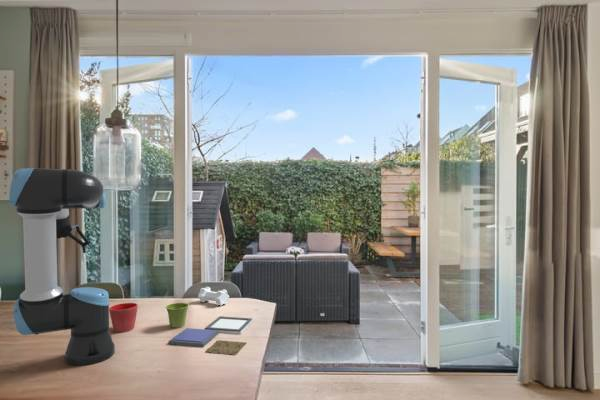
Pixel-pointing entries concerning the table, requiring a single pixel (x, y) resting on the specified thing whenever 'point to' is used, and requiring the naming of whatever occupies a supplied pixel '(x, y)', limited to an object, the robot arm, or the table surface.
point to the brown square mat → (225, 347)
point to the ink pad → (194, 337)
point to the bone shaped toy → (213, 296)
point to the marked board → (230, 324)
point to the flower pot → (123, 316)
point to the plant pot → (177, 314)
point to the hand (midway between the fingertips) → (65, 263)
